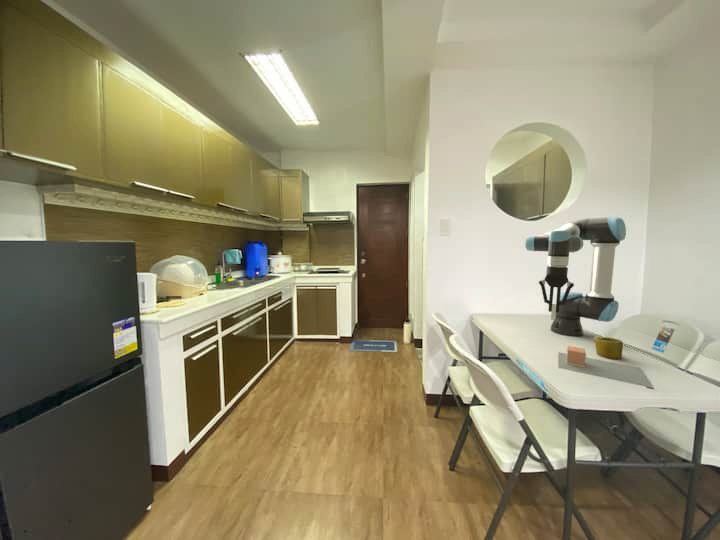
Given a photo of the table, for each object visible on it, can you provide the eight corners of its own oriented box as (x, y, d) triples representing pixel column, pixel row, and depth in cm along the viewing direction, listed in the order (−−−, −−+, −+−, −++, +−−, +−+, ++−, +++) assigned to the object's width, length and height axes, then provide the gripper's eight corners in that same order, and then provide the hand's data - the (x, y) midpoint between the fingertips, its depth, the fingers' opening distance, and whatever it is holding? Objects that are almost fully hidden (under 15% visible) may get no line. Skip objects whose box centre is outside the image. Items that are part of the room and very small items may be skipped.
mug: (633, 358, 122) (624, 335, 124) (607, 363, 125) (598, 341, 126) (616, 353, 134) (608, 332, 136) (592, 357, 136) (584, 337, 138)
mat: (558, 352, 133) (558, 352, 133) (640, 368, 117) (640, 367, 117) (558, 368, 117) (558, 367, 117) (653, 389, 101) (653, 388, 101)
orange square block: (566, 358, 126) (567, 345, 125) (583, 362, 122) (584, 348, 122) (566, 363, 121) (567, 350, 120) (584, 367, 117) (585, 353, 117)
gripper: (539, 265, 123) (535, 318, 125) (576, 267, 115) (571, 323, 118) (540, 264, 129) (536, 315, 131) (575, 266, 122) (570, 319, 124)
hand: (553, 319), depth 125 cm, fingers closed
